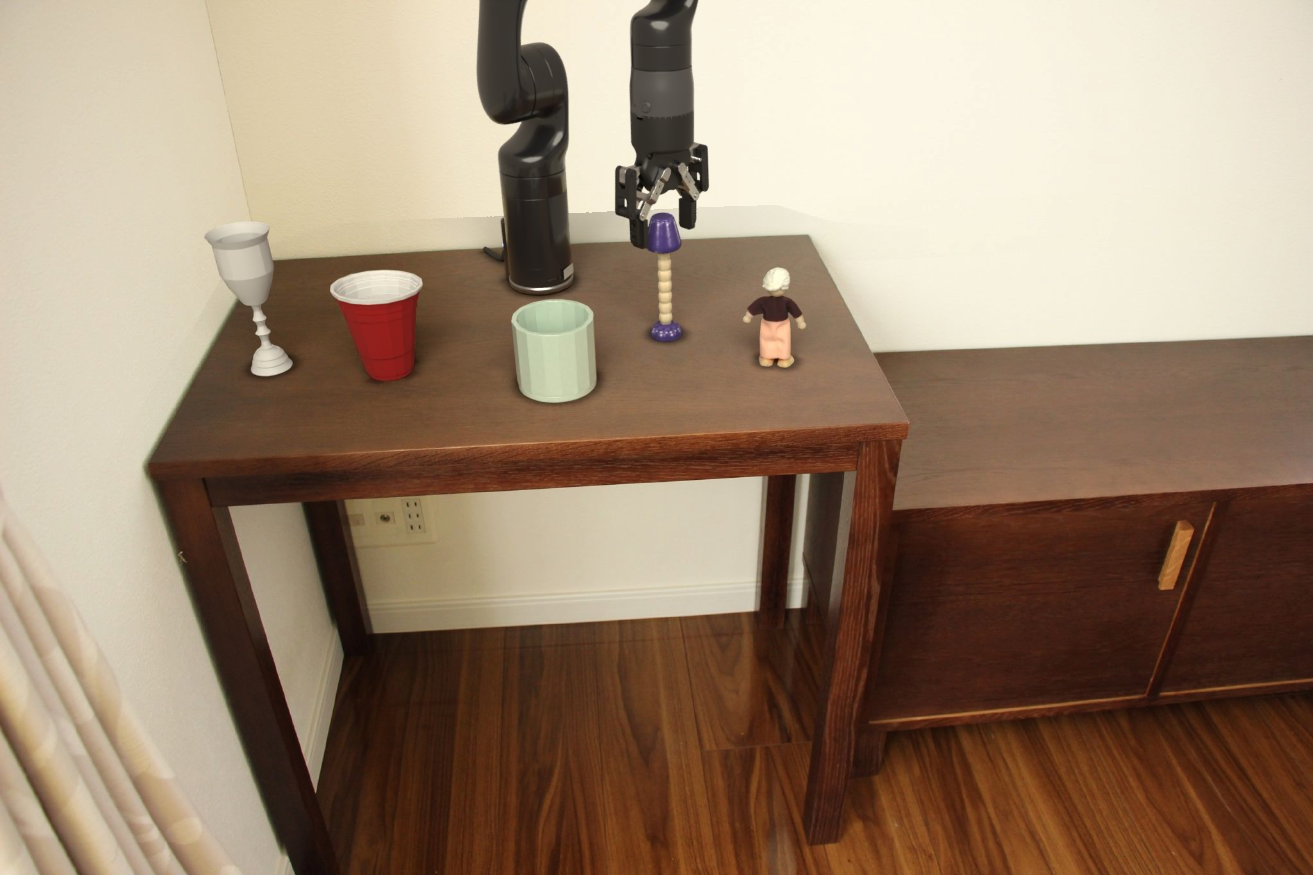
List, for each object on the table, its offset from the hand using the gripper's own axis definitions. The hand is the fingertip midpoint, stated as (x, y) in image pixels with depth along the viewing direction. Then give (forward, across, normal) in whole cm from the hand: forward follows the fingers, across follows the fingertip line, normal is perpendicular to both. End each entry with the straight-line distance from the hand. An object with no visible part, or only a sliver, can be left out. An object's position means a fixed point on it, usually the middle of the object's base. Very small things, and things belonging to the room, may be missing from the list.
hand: (663, 237), depth 124 cm
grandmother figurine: (+14, -4, +15) cm, 21 cm away
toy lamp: (+14, 0, 0) cm, 14 cm away
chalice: (+14, +40, -31) cm, 53 cm away
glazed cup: (+14, +18, -1) cm, 23 cm away
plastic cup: (+14, +30, -19) cm, 38 cm away
